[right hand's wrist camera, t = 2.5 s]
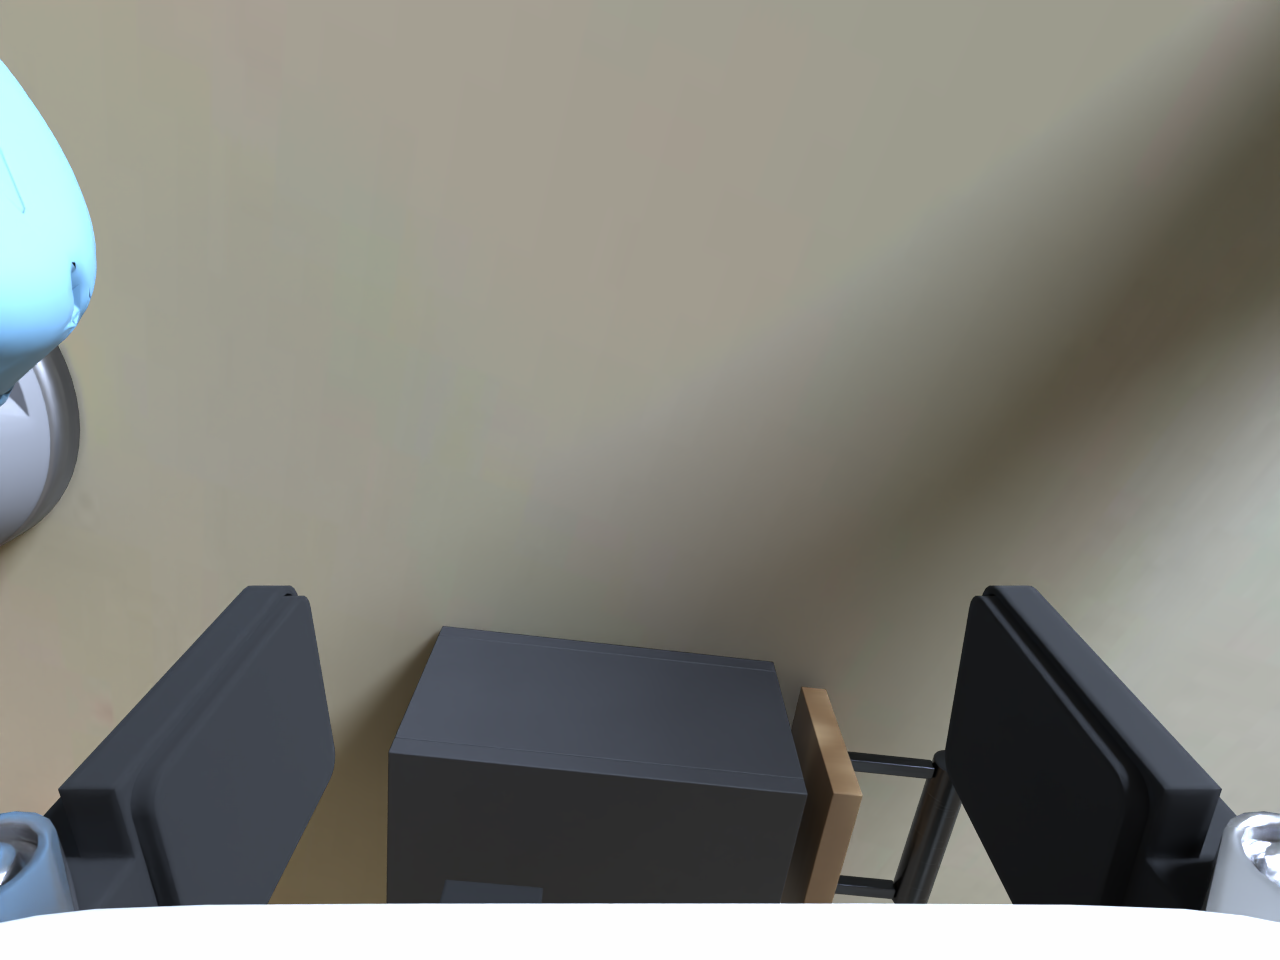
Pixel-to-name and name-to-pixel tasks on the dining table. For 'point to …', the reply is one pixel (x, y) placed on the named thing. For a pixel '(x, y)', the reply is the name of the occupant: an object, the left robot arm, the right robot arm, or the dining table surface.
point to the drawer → (838, 807)
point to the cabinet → (592, 774)
